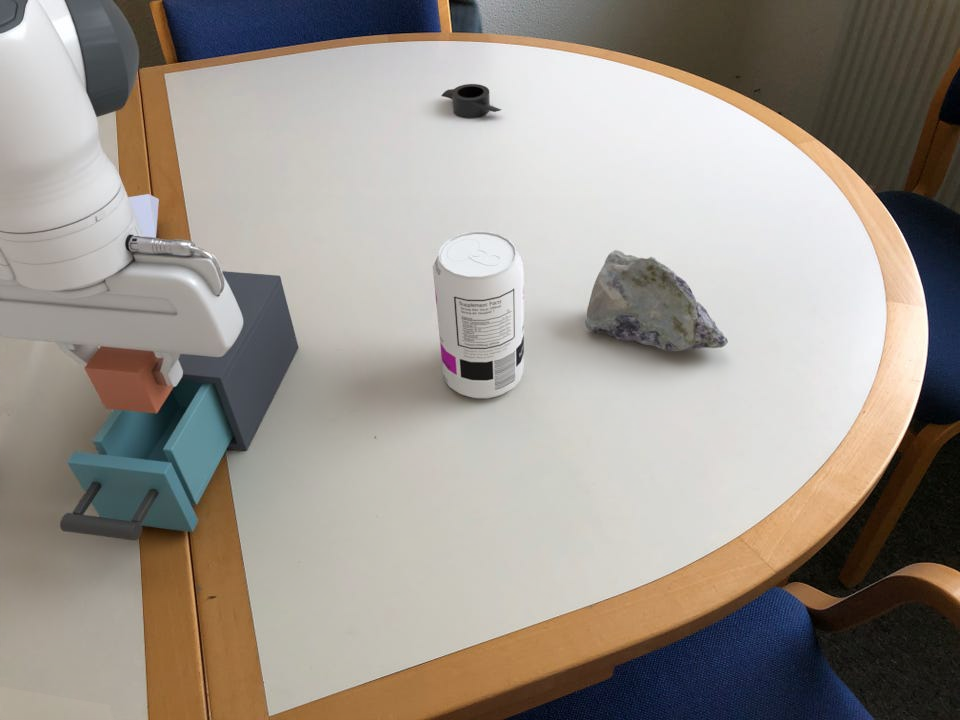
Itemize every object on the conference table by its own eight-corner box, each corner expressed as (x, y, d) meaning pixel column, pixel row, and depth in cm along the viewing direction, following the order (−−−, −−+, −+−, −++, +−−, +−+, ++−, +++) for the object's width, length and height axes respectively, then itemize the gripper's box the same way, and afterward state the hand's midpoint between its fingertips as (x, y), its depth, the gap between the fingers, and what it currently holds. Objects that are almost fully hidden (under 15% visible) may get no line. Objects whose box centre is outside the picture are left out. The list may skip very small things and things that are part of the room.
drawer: (168, 579, 63) (136, 521, 58) (73, 565, 65) (33, 508, 59) (253, 416, 76) (233, 356, 71) (172, 407, 78) (146, 348, 72)
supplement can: (427, 383, 80) (413, 262, 70) (473, 337, 85) (465, 218, 75) (494, 414, 77) (490, 292, 66) (538, 364, 81) (540, 243, 71)
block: (156, 413, 63) (137, 373, 60) (105, 408, 64) (83, 368, 61) (181, 374, 66) (164, 334, 63) (132, 370, 67) (113, 329, 64)
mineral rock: (729, 359, 81) (748, 280, 74) (643, 396, 78) (655, 317, 71) (653, 291, 90) (664, 215, 83) (572, 322, 86) (576, 245, 79)
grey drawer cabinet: (247, 451, 74) (220, 377, 68) (152, 440, 76) (117, 367, 69) (299, 347, 85) (280, 275, 78) (215, 339, 86) (189, 268, 80)
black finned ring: (486, 92, 129) (485, 75, 127) (504, 119, 122) (503, 101, 120) (440, 100, 127) (438, 82, 125) (455, 127, 120) (454, 109, 118)
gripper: (229, 216, 55) (273, 361, 64) (-32, 200, 58) (46, 340, 68) (190, 271, 51) (243, 418, 60) (-91, 250, 54) (1, 393, 63)
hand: (137, 377), depth 64 cm, fingers closed on block, 4 cm apart
